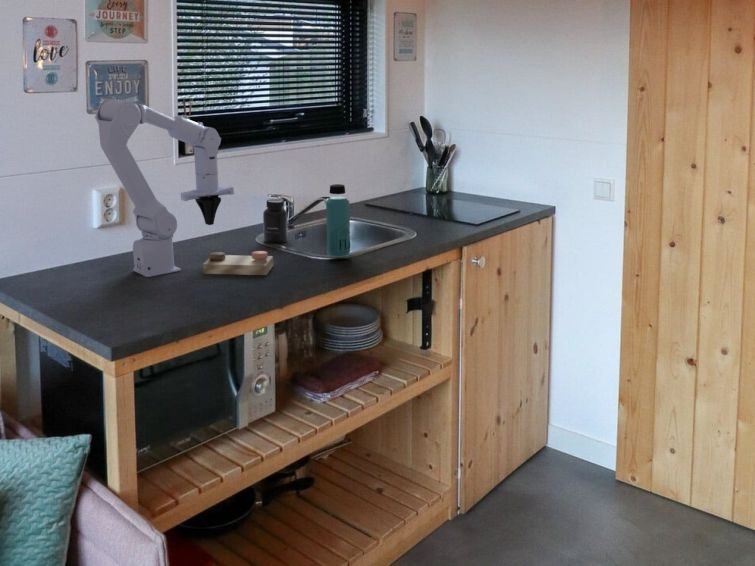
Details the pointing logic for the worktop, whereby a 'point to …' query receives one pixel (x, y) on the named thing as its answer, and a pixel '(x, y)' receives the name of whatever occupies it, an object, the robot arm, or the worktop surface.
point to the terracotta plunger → (259, 256)
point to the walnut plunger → (217, 256)
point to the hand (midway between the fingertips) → (209, 224)
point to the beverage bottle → (338, 223)
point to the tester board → (238, 266)
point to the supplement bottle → (275, 222)
